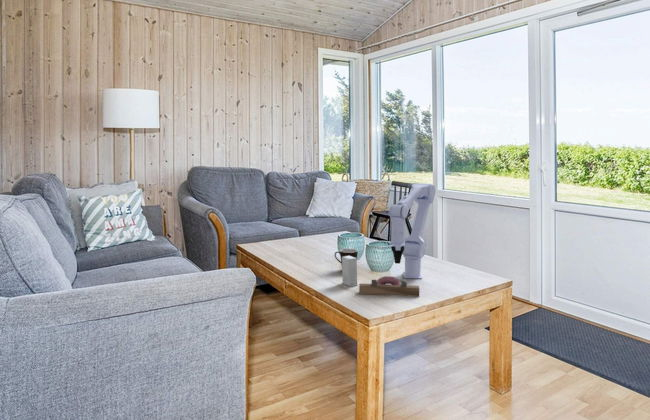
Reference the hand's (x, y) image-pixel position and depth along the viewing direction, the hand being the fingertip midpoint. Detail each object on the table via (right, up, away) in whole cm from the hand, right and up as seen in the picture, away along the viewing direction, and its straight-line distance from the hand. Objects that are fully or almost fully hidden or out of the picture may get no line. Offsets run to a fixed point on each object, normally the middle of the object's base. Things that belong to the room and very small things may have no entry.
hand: (397, 263), depth 197 cm
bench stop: (-6, -11, -13) cm, 18 cm away
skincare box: (-21, -10, +1) cm, 23 cm away
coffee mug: (-21, -6, +24) cm, 32 cm away
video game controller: (-5, -11, -8) cm, 14 cm away
